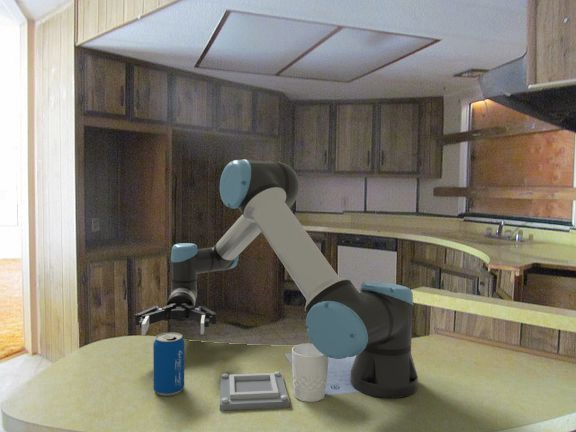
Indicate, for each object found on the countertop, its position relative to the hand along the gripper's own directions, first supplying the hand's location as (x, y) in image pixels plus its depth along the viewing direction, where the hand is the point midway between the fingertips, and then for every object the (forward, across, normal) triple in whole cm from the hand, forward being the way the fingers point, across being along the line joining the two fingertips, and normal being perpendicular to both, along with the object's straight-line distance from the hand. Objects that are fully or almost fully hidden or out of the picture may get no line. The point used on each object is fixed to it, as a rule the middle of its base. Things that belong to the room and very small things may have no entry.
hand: (172, 329), depth 111 cm
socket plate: (+13, -18, -10) cm, 25 cm away
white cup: (+15, -30, -10) cm, 35 cm away
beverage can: (+10, 0, -10) cm, 15 cm away
